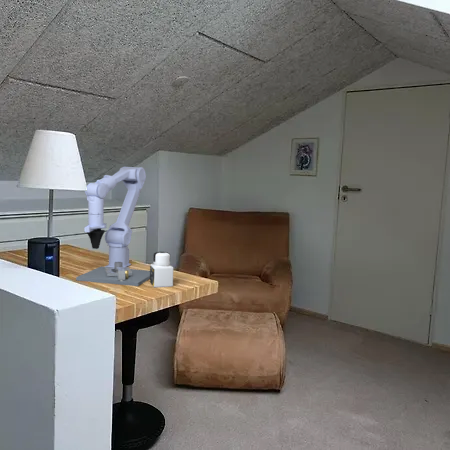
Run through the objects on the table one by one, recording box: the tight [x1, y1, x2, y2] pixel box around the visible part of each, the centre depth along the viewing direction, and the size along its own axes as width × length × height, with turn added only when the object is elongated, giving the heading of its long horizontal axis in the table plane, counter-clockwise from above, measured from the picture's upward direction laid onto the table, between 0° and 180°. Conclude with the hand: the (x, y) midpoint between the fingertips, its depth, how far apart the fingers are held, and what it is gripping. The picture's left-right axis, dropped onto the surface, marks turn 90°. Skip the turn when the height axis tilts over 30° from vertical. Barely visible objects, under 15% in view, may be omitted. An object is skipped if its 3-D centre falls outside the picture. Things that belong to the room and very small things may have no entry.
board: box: [75, 262, 150, 287], centre depth 172 cm, size 20×24×6 cm
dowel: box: [125, 270, 129, 279], centre depth 166 cm, size 2×2×3 cm
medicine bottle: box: [149, 251, 174, 288], centre depth 164 cm, size 7×7×12 cm
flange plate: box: [105, 266, 132, 280], centre depth 169 cm, size 15×9×4 cm, turn 20°
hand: (95, 248), depth 176 cm, fingers closed
